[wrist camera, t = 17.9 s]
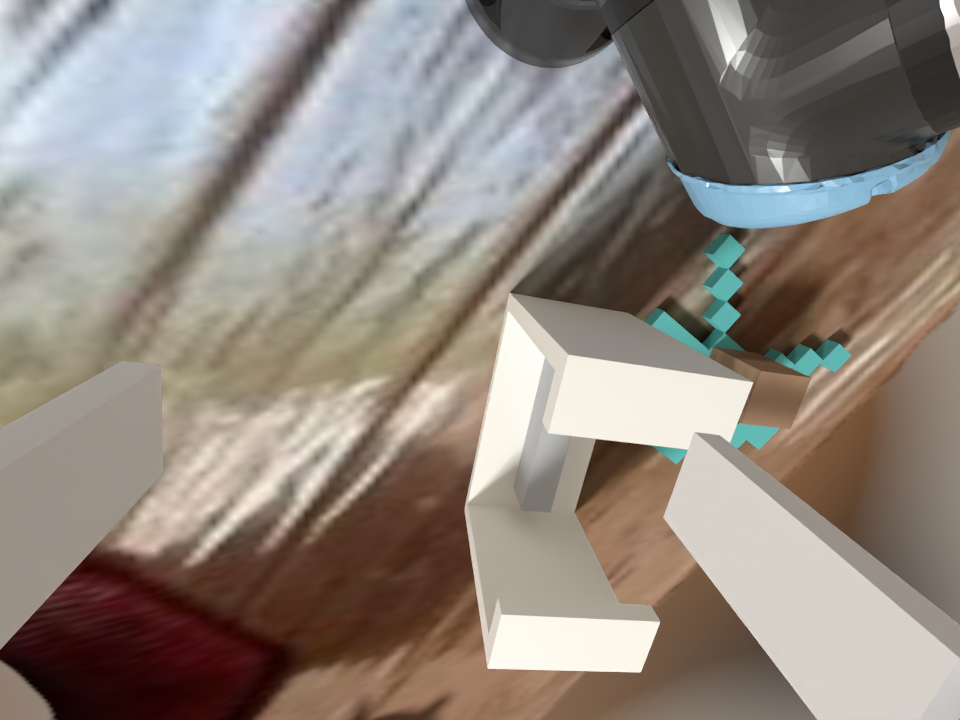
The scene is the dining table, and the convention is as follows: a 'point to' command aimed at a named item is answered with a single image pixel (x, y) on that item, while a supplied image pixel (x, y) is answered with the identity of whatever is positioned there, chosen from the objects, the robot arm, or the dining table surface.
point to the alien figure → (722, 319)
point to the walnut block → (765, 387)
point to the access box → (573, 474)
